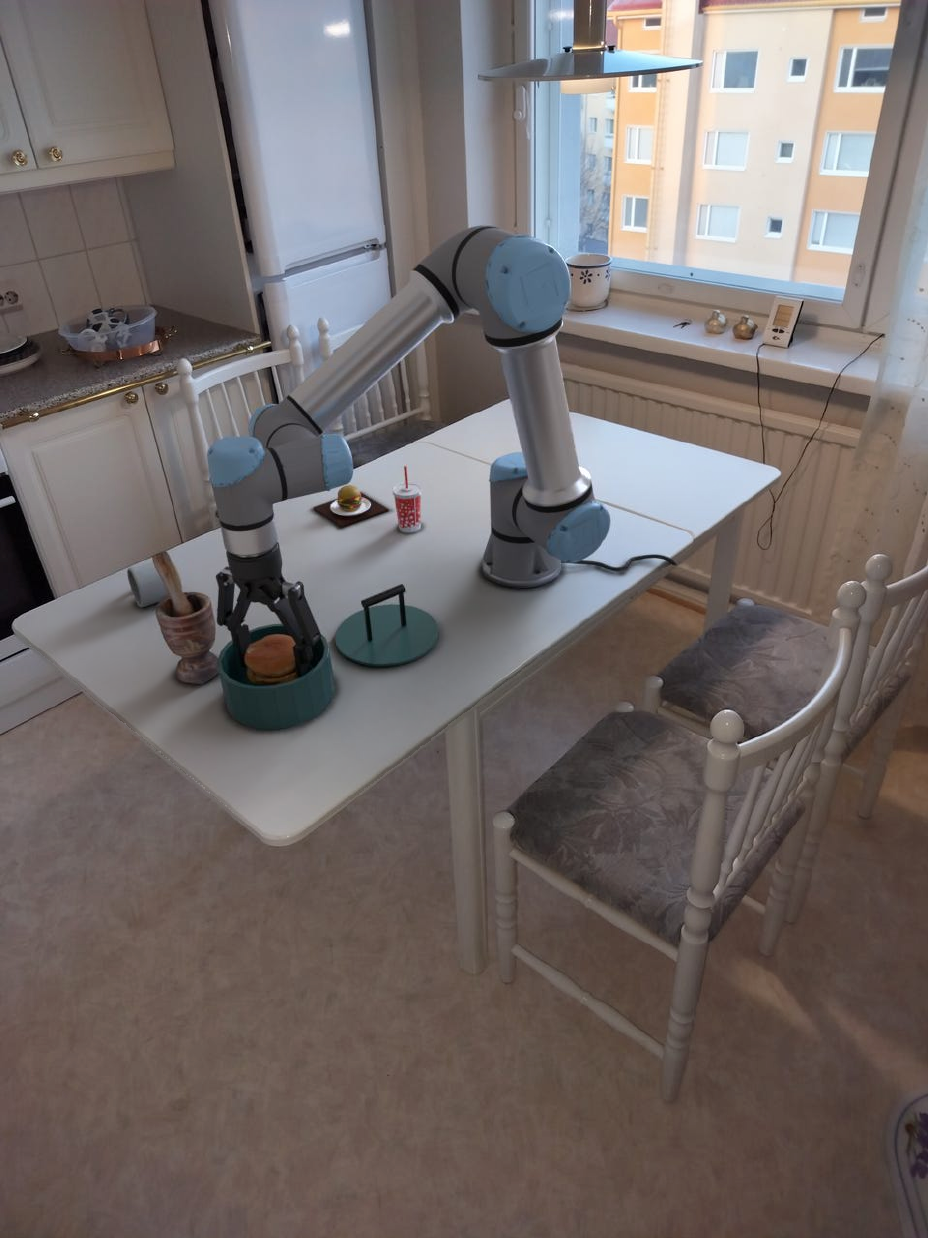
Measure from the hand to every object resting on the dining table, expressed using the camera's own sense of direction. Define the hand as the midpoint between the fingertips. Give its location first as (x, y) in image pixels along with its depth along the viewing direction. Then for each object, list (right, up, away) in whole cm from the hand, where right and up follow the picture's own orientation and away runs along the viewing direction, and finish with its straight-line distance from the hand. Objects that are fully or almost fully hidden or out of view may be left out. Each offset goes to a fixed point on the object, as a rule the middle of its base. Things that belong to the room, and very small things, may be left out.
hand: (276, 669), depth 136 cm
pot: (0, -4, +3) cm, 5 cm away
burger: (0, 0, 0) cm, 0 cm away
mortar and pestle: (-16, 0, +10) cm, 19 cm away
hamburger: (+4, +32, +56) cm, 65 cm away
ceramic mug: (-29, +12, +29) cm, 43 cm away
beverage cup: (+18, +27, +48) cm, 58 cm away
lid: (+16, +5, +15) cm, 22 cm away
